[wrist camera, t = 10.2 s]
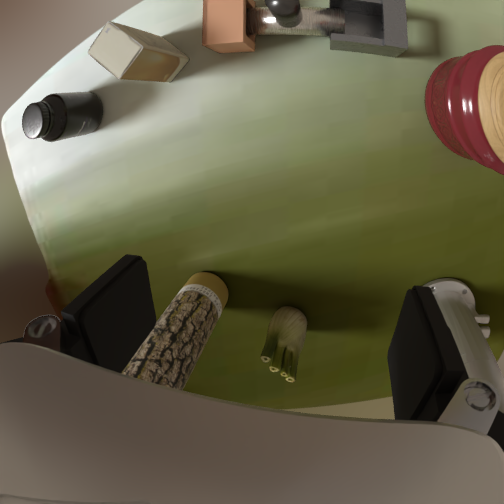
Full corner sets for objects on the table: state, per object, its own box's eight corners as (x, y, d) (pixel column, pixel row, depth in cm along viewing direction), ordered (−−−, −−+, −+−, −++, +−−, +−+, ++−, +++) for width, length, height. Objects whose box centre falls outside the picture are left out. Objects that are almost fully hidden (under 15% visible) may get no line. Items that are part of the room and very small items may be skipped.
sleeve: (394, 14, 27) (405, 0, 21) (395, 57, 29) (407, 49, 24) (329, 6, 28) (329, -11, 23) (330, 49, 31) (331, 38, 25)
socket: (255, 2, 30) (243, -14, 24) (255, 51, 33) (242, 41, 27) (220, 5, 30) (203, -9, 25) (219, 53, 34) (202, 45, 28)
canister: (438, 167, 34) (506, 210, 18) (407, 67, 29) (465, 40, 14) (513, 147, 29) (597, 179, 14) (488, 53, 25) (569, 37, 9)
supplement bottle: (101, 136, 42) (45, 151, 31) (71, 130, 42) (15, 144, 32) (108, 93, 38) (50, 97, 28) (76, 89, 39) (19, 94, 28)
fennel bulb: (270, 303, 47) (253, 358, 37) (302, 297, 46) (293, 353, 35) (282, 332, 49) (268, 388, 39) (312, 327, 48) (305, 385, 37)
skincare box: (141, 59, 35) (84, 51, 25) (160, 35, 34) (106, 18, 23) (171, 85, 36) (118, 81, 26) (192, 60, 34) (143, 46, 24)
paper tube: (187, 266, 48) (94, 384, 26) (230, 274, 47) (155, 408, 25) (189, 302, 51) (111, 421, 29) (229, 311, 50) (166, 443, 28)
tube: (342, 14, 28) (347, -15, 19) (343, 40, 29) (349, 18, 21) (242, 13, 30) (217, -13, 22) (242, 38, 32) (216, 18, 23)
